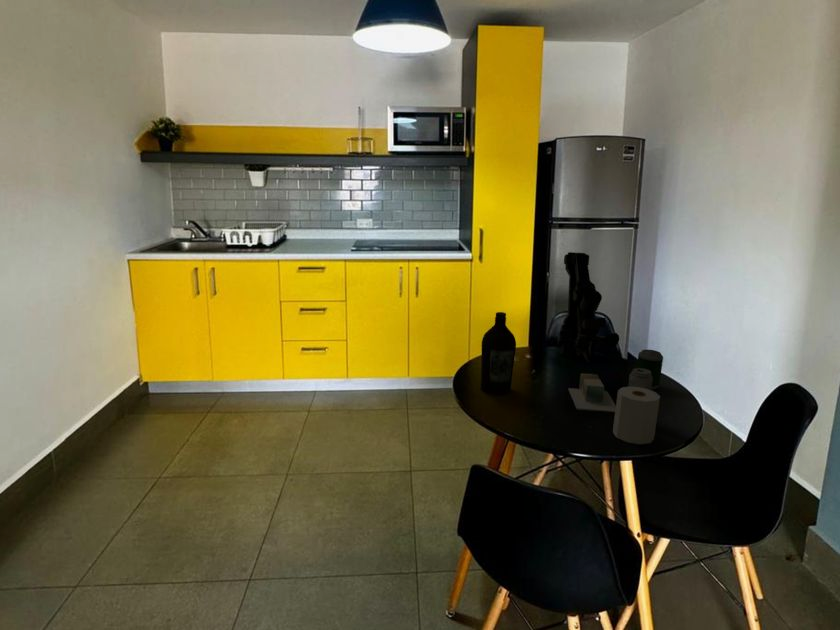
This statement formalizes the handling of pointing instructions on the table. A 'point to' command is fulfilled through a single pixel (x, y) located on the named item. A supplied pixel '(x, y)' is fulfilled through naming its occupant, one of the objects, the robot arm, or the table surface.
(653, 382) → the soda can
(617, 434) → the toilet paper
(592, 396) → the birch block
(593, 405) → the rubber mat
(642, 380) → the energy drink can
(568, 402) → the table surface
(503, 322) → the olive oil
